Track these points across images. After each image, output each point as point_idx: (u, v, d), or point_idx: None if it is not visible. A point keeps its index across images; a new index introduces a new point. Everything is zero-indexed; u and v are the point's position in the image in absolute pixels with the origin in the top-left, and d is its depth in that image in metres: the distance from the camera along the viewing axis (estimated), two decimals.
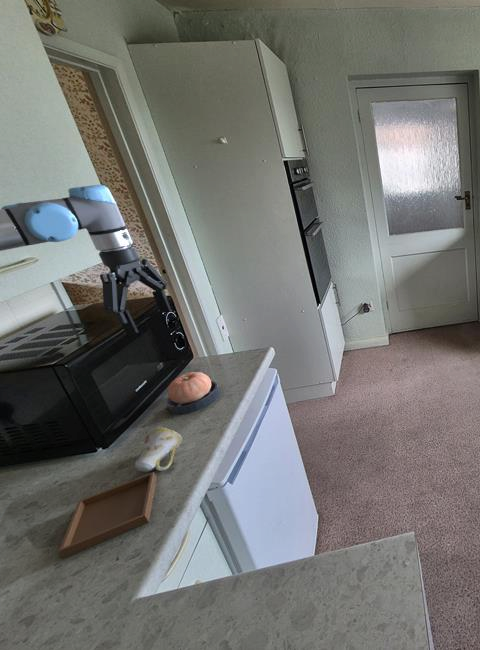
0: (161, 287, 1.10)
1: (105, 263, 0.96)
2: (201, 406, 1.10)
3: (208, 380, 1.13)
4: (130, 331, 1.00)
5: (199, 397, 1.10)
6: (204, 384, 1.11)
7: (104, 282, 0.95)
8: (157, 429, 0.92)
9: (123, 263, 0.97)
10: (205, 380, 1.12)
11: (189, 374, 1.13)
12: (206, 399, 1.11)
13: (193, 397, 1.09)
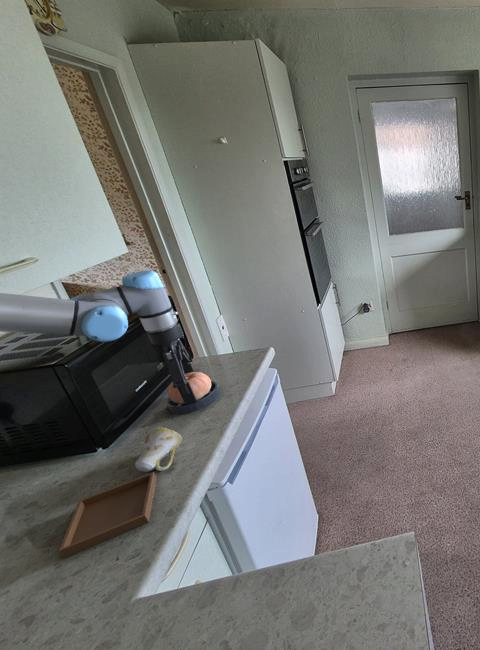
0: (188, 360, 1.16)
1: (159, 342, 1.02)
2: (201, 406, 1.10)
3: (208, 380, 1.13)
4: (190, 401, 1.08)
5: (199, 397, 1.10)
6: (204, 384, 1.11)
7: (168, 361, 1.01)
8: (157, 429, 0.92)
9: (177, 339, 1.04)
10: (205, 380, 1.12)
11: (189, 374, 1.13)
12: (206, 399, 1.11)
13: None
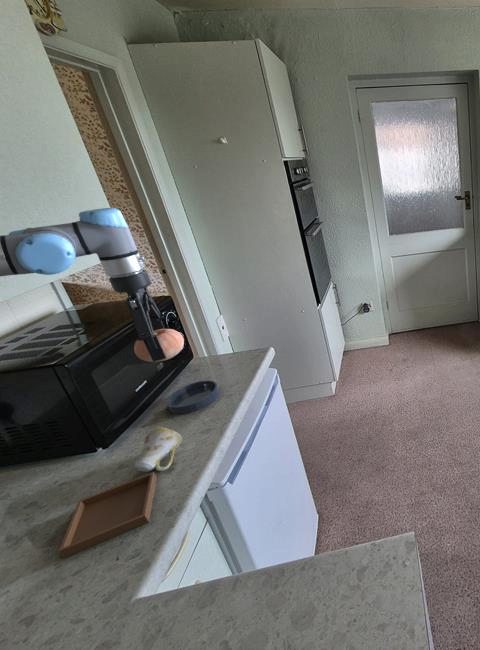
0: (159, 316, 1.05)
1: (122, 289, 0.91)
2: (201, 406, 1.10)
3: (180, 337, 1.03)
4: (158, 357, 0.97)
5: (169, 354, 1.00)
6: (175, 341, 1.01)
7: (132, 309, 0.91)
8: (157, 429, 0.92)
9: (143, 286, 0.94)
10: (176, 336, 1.02)
11: (159, 330, 1.02)
12: (206, 399, 1.11)
13: None
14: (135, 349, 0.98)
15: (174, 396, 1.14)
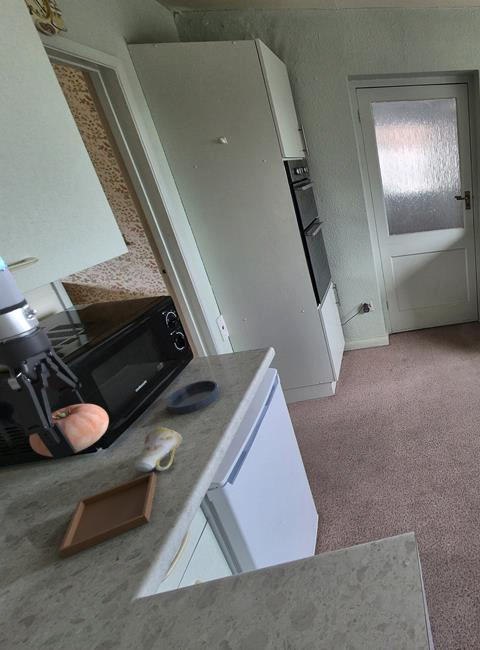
0: (73, 385, 0.75)
1: None
2: (201, 406, 1.10)
3: (101, 417, 0.73)
4: (63, 453, 0.67)
5: (83, 445, 0.70)
6: (91, 425, 0.71)
7: (13, 392, 0.61)
8: (157, 429, 0.92)
9: (34, 354, 0.64)
10: (94, 417, 0.72)
11: (70, 408, 0.72)
12: (206, 399, 1.11)
13: None
14: (30, 440, 0.68)
15: (174, 396, 1.14)
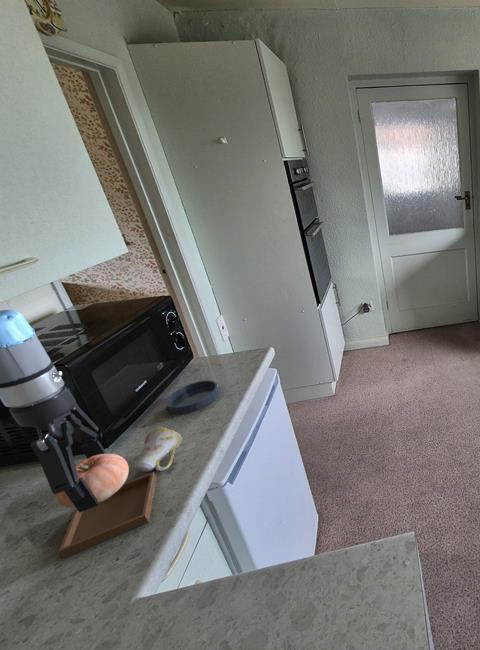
0: (95, 435, 0.78)
1: (28, 423, 0.64)
2: (201, 406, 1.10)
3: (122, 467, 0.76)
4: (87, 506, 0.70)
5: (105, 497, 0.73)
6: (113, 477, 0.74)
7: (41, 453, 0.64)
8: (157, 429, 0.92)
9: (60, 414, 0.67)
10: (115, 468, 0.75)
11: (93, 459, 0.75)
12: (206, 399, 1.11)
13: None
14: (55, 494, 0.71)
15: (174, 396, 1.14)
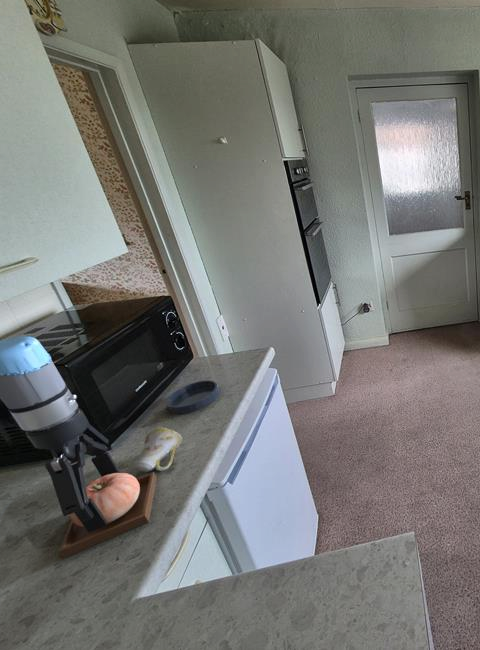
0: (105, 448, 0.81)
1: (44, 445, 0.66)
2: (201, 406, 1.10)
3: (133, 487, 0.78)
4: (96, 526, 0.71)
5: (117, 516, 0.75)
6: (125, 496, 0.76)
7: (54, 473, 0.66)
8: (157, 429, 0.92)
9: (74, 436, 0.69)
10: (127, 488, 0.77)
11: (105, 479, 0.78)
12: (206, 399, 1.11)
13: (106, 518, 0.73)
14: None
15: (174, 396, 1.14)
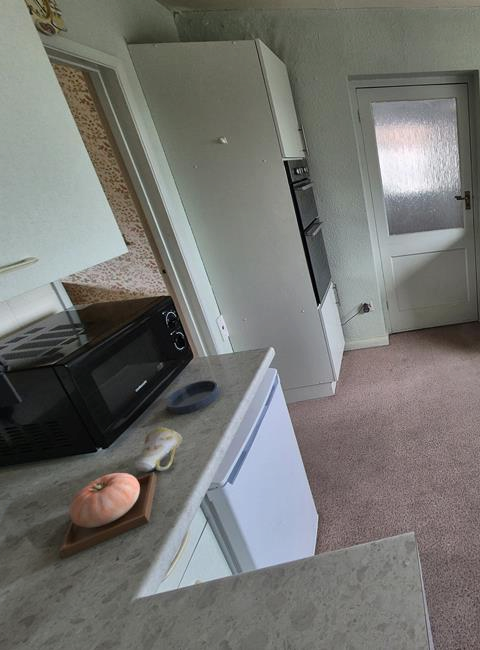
0: (1, 368, 0.72)
1: None
2: (201, 406, 1.10)
3: (133, 487, 0.78)
4: None
5: (117, 516, 0.75)
6: (125, 496, 0.76)
7: None
8: (157, 429, 0.92)
9: None
10: (127, 488, 0.77)
11: (105, 479, 0.78)
12: (206, 399, 1.11)
13: (106, 518, 0.73)
14: (70, 513, 0.73)
15: (174, 396, 1.14)
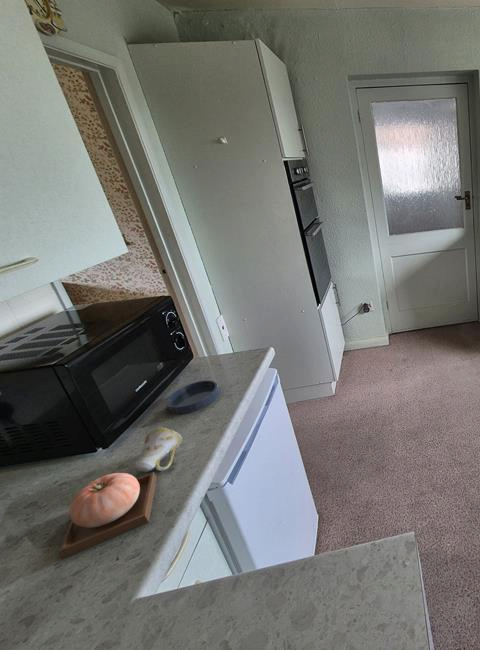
0: None
1: None
2: (201, 406, 1.10)
3: (133, 487, 0.78)
4: None
5: (117, 516, 0.75)
6: (125, 496, 0.76)
7: None
8: (157, 429, 0.92)
9: None
10: (127, 488, 0.77)
11: (105, 479, 0.78)
12: (206, 399, 1.11)
13: (106, 518, 0.73)
14: (70, 513, 0.73)
15: (174, 396, 1.14)
